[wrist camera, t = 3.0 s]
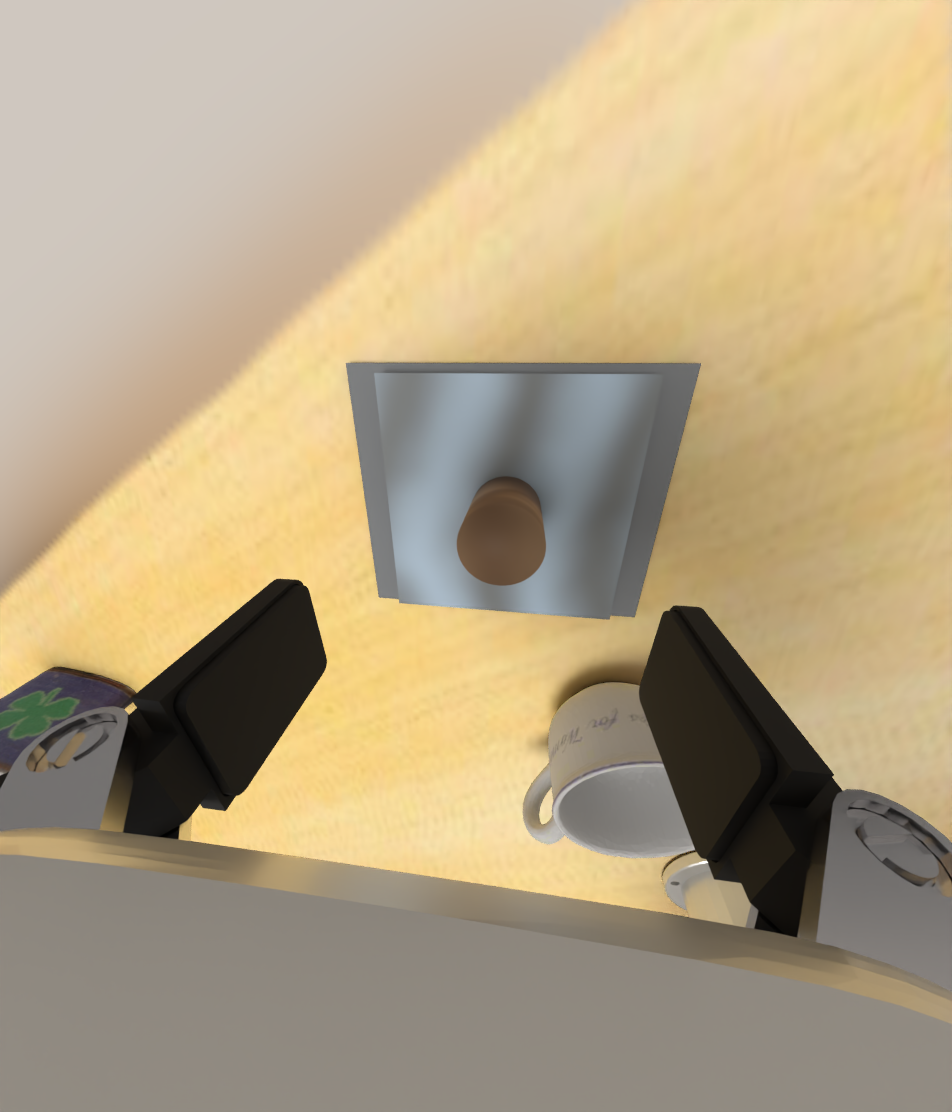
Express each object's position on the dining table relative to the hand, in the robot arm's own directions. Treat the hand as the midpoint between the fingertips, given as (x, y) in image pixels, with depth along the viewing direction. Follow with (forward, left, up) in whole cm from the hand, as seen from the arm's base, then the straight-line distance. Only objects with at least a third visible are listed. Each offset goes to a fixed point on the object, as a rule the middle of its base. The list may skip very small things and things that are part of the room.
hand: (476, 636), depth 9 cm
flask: (+41, +21, -14) cm, 48 cm away
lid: (0, 0, -13) cm, 13 cm away
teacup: (-8, +18, -14) cm, 24 cm away
